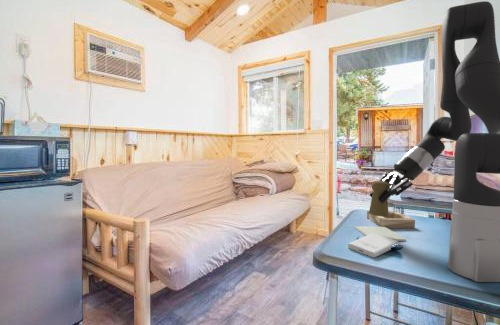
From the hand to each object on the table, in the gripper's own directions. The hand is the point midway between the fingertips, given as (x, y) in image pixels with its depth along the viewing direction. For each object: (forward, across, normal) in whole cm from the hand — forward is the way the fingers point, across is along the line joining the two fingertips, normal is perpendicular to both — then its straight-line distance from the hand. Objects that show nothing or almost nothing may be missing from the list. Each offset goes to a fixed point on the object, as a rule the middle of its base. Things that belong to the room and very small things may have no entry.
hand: (375, 198), depth 88 cm
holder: (0, -12, +18) cm, 22 cm away
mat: (+7, 0, +10) cm, 12 cm away
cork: (+3, 0, +5) cm, 6 cm away
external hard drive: (+13, +12, +4) cm, 18 cm away
